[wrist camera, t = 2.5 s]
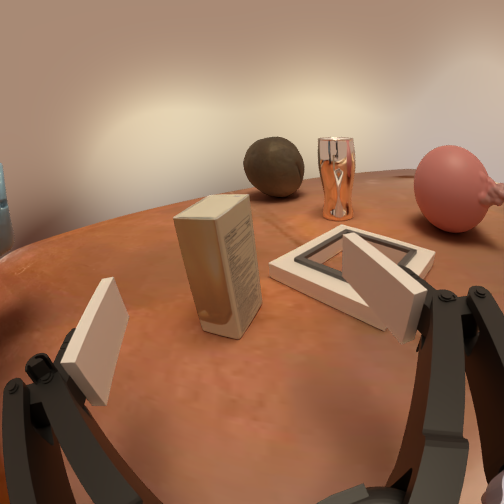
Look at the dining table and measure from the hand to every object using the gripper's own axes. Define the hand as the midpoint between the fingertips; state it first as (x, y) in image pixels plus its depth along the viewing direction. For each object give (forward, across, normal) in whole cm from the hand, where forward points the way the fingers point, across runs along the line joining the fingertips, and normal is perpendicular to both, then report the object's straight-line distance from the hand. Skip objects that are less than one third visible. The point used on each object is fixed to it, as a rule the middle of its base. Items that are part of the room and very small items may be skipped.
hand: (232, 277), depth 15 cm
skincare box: (+10, 0, -11) cm, 15 cm away
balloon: (+17, +40, -11) cm, 45 cm away
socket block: (+14, +16, -11) cm, 24 cm away
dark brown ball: (+53, +15, -10) cm, 56 cm away
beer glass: (+34, +23, -11) cm, 42 cm away
